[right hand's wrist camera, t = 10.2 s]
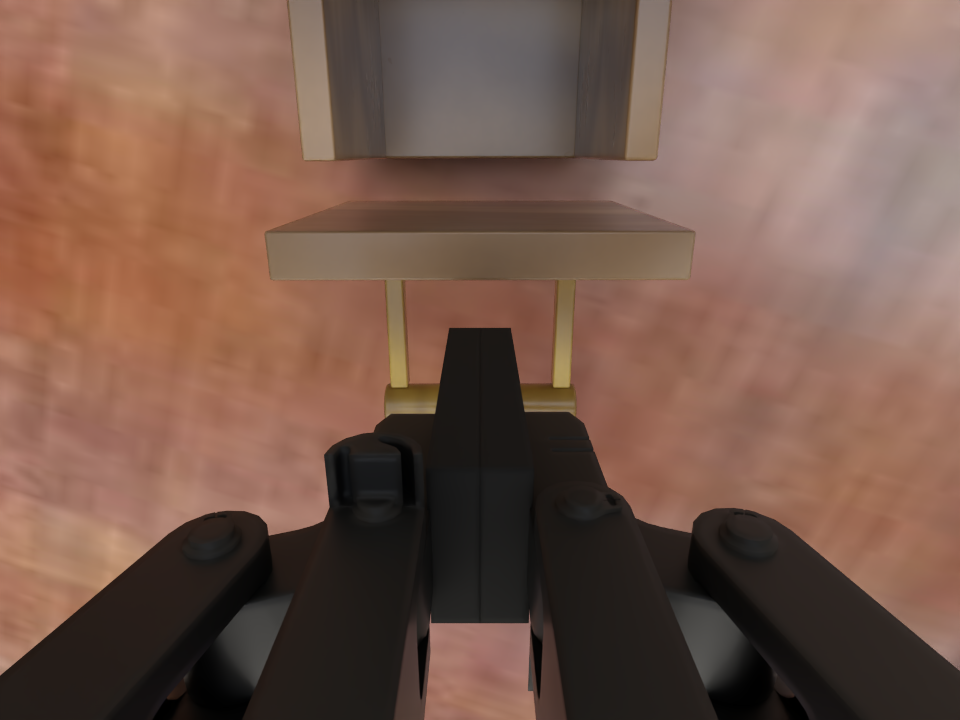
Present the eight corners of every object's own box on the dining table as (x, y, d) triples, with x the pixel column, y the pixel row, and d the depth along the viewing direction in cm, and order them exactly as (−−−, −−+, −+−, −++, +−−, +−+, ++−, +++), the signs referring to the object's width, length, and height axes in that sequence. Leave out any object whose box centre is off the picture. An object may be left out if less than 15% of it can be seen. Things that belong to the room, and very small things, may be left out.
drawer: (599, 374, 25) (664, 495, 16) (361, 375, 25) (296, 495, 16) (657, -403, 17) (849, -1011, 8) (302, -402, 17) (108, -1007, 8)
